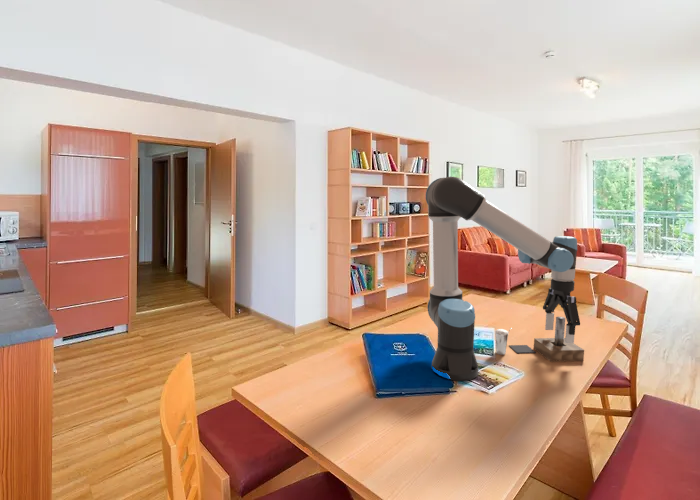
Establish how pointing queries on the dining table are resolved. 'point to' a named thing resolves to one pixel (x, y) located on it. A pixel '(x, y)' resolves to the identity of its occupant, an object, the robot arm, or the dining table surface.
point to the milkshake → (501, 341)
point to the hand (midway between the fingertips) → (558, 335)
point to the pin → (559, 331)
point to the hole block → (558, 350)
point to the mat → (522, 349)
